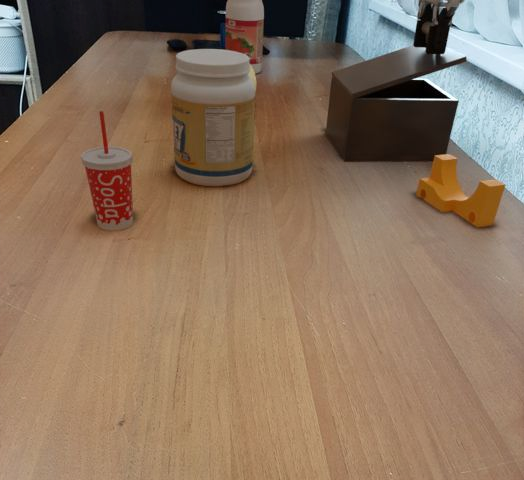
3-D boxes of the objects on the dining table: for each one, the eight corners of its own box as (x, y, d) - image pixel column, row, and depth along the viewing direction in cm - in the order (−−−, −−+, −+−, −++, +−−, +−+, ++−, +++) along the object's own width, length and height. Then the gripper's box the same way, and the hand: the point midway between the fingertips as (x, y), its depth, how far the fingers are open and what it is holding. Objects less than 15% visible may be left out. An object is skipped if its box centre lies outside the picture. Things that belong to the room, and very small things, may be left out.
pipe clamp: (415, 199, 85) (424, 156, 81) (439, 196, 86) (449, 153, 83) (465, 234, 76) (478, 188, 72) (491, 230, 78) (505, 184, 74)
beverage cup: (84, 230, 73) (65, 116, 64) (101, 211, 77) (85, 102, 69) (130, 235, 72) (117, 121, 64) (145, 215, 77) (135, 106, 68)
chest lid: (432, 43, 101) (430, 12, 98) (466, 61, 89) (465, 27, 86) (332, 76, 102) (326, 47, 99) (353, 98, 91) (347, 66, 88)
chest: (415, 133, 111) (426, 78, 105) (444, 161, 99) (459, 100, 93) (325, 133, 109) (331, 77, 102) (344, 161, 97) (352, 99, 91)
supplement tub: (167, 164, 92) (159, 48, 82) (238, 157, 96) (239, 46, 86) (186, 193, 83) (181, 67, 73) (264, 184, 87) (269, 63, 77)
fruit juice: (269, 72, 147) (275, -61, 130) (241, 77, 142) (244, -61, 125) (245, 65, 153) (248, -64, 136) (218, 69, 148) (217, -64, 130)
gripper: (503, -87, 77) (470, 60, 88) (454, -87, 91) (431, 41, 102) (450, -88, 77) (424, 60, 88) (409, -88, 90) (391, 41, 101)
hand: (428, 49), depth 95 cm, fingers closed on chest lid, 5 cm apart
